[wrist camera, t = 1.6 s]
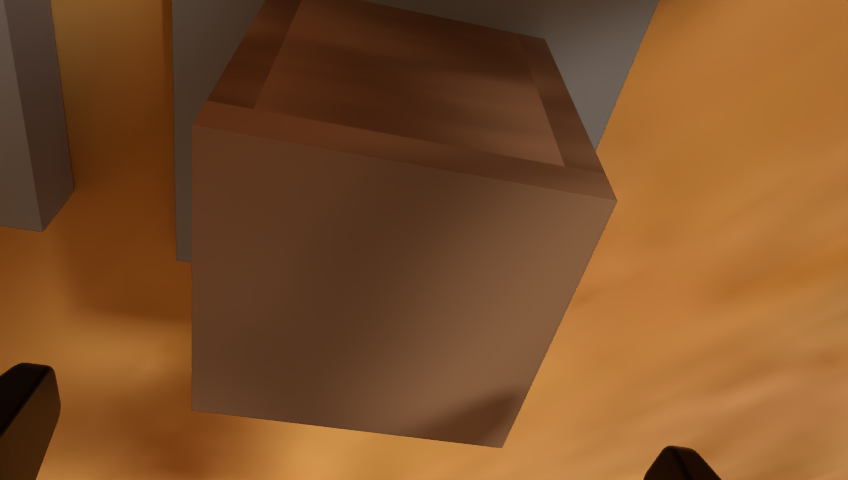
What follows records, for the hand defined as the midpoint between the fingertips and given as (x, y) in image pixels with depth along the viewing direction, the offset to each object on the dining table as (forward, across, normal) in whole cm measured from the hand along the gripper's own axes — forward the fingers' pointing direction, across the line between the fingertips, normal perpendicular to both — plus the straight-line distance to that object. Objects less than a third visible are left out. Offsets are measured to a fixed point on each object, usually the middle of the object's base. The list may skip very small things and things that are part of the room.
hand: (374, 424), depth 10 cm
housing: (+9, 0, 0) cm, 9 cm away
